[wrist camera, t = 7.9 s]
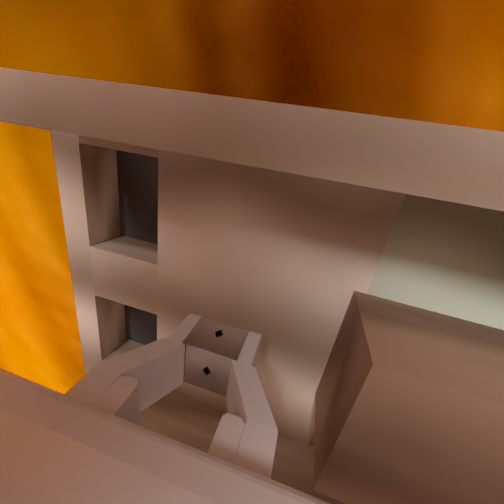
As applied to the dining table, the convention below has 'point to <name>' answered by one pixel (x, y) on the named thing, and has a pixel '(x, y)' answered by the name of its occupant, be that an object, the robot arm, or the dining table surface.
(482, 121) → the dining table surface
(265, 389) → the tray
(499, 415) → the walnut block
